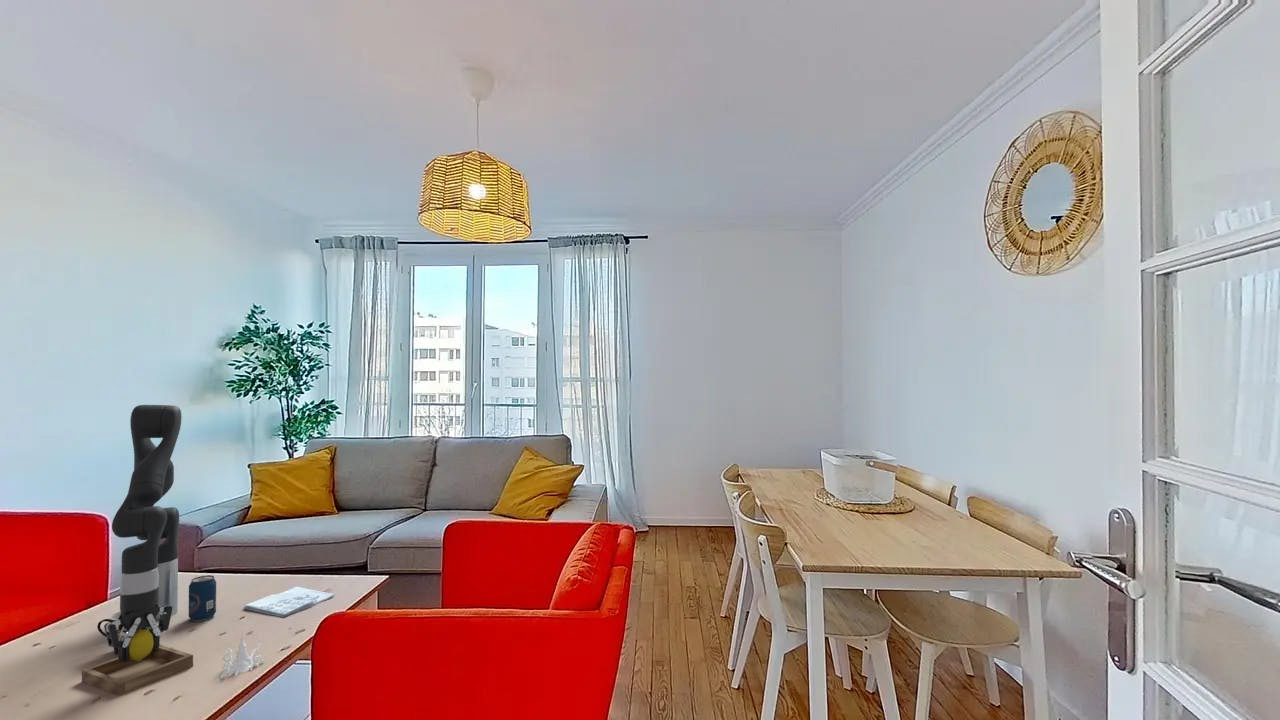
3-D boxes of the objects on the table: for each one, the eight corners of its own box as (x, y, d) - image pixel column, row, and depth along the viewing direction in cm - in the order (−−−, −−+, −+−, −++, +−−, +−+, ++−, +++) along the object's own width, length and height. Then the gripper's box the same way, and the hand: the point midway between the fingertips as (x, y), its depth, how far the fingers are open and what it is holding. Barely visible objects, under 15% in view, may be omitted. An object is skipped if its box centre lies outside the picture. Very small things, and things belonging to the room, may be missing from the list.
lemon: (137, 667, 151) (137, 634, 151) (119, 665, 152) (119, 632, 152) (159, 657, 156) (159, 625, 156) (141, 655, 157) (141, 623, 157)
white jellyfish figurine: (211, 683, 151) (211, 645, 151) (235, 660, 163) (235, 624, 163) (250, 680, 152) (250, 642, 152) (272, 658, 164) (272, 622, 164)
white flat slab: (241, 610, 197) (241, 603, 197) (298, 589, 216) (298, 583, 216) (283, 619, 190) (283, 612, 190) (338, 596, 209) (338, 590, 209)
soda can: (183, 620, 188) (183, 580, 188) (206, 611, 195) (206, 573, 195) (198, 623, 186) (198, 583, 186) (221, 615, 192) (221, 576, 192)
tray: (81, 684, 150) (81, 670, 150) (156, 656, 164) (156, 643, 164) (118, 699, 143) (119, 684, 143) (193, 668, 158) (193, 655, 158)
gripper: (163, 576, 162) (162, 641, 162) (96, 595, 149) (95, 665, 149) (180, 580, 159) (179, 647, 159) (113, 600, 146) (113, 672, 146)
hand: (139, 655), depth 154 cm, fingers closed on lemon, 5 cm apart
